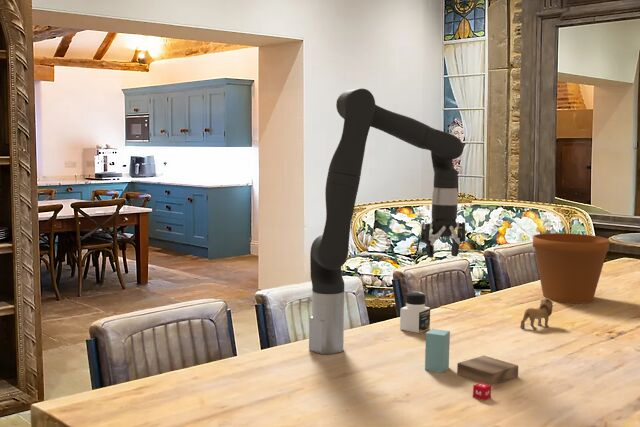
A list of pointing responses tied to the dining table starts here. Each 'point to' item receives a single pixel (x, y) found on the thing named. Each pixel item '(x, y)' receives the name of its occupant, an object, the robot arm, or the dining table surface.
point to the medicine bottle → (415, 313)
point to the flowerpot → (570, 265)
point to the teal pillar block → (437, 350)
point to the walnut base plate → (487, 370)
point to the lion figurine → (538, 313)
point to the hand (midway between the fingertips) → (442, 256)
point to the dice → (482, 391)
